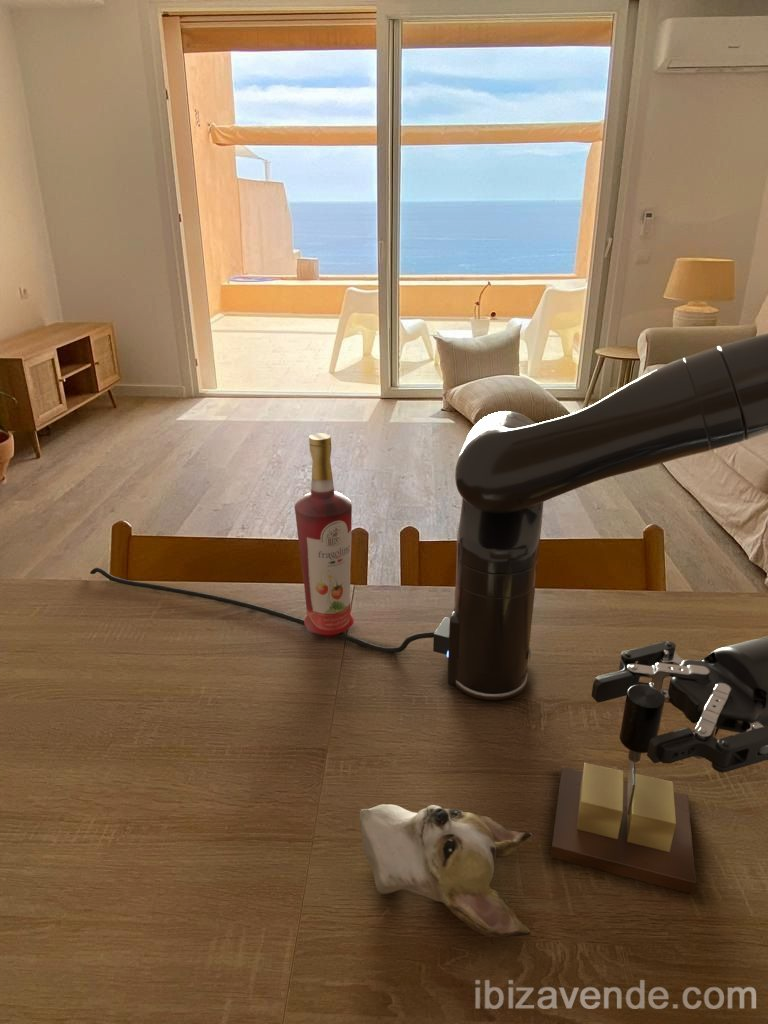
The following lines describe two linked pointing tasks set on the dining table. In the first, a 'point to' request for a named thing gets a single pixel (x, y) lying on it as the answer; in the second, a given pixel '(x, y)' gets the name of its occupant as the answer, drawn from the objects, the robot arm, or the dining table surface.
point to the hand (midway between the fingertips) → (621, 719)
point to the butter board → (624, 827)
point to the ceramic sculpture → (443, 861)
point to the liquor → (325, 546)
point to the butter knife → (639, 727)
